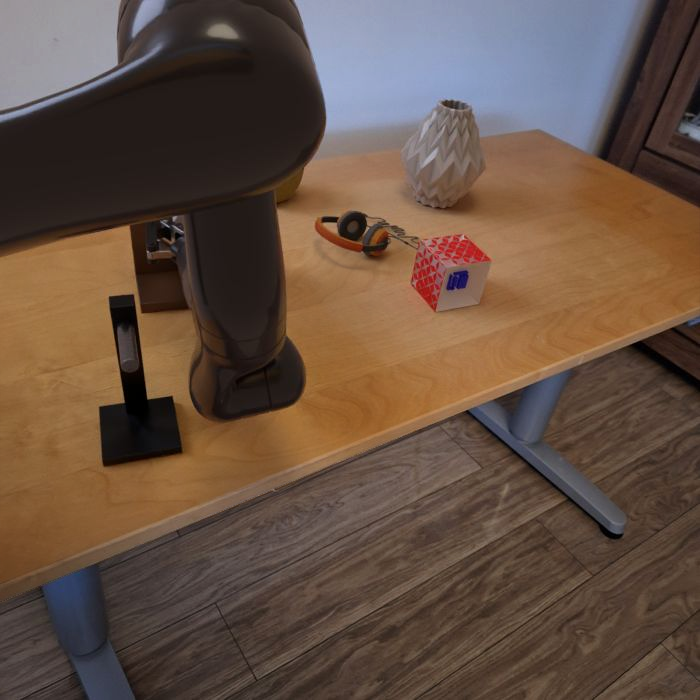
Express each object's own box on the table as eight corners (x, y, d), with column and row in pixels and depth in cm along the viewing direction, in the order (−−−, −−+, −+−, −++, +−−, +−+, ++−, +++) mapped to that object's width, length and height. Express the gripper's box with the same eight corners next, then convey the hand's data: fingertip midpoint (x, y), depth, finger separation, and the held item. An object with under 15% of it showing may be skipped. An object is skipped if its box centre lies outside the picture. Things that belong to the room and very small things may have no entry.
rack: (141, 313, 84) (121, 152, 70) (135, 273, 91) (116, 119, 77) (257, 301, 89) (261, 149, 75) (242, 264, 96) (243, 118, 82)
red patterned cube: (452, 276, 101) (463, 234, 96) (478, 304, 96) (492, 260, 91) (409, 283, 98) (419, 239, 93) (434, 312, 93) (445, 267, 88)
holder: (103, 466, 64) (79, 352, 54) (99, 411, 70) (77, 298, 60) (182, 452, 67) (173, 340, 57) (172, 400, 72) (162, 290, 63)
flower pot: (305, 201, 116) (308, 154, 110) (269, 213, 110) (271, 165, 105) (274, 183, 120) (276, 137, 114) (238, 194, 115) (238, 147, 109)
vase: (420, 174, 132) (438, 84, 120) (488, 202, 125) (514, 109, 113) (377, 196, 121) (392, 99, 109) (449, 227, 114) (473, 128, 102)
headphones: (446, 237, 105) (366, 243, 92) (435, 265, 108) (356, 274, 94) (378, 198, 114) (297, 198, 100) (370, 224, 117) (289, 228, 103)
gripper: (281, 246, 68) (250, 181, 80) (146, 256, 64) (133, 185, 76) (278, 302, 73) (249, 233, 85) (152, 314, 69) (139, 239, 80)
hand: (194, 211), depth 80 cm, fingers closed on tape, 6 cm apart
